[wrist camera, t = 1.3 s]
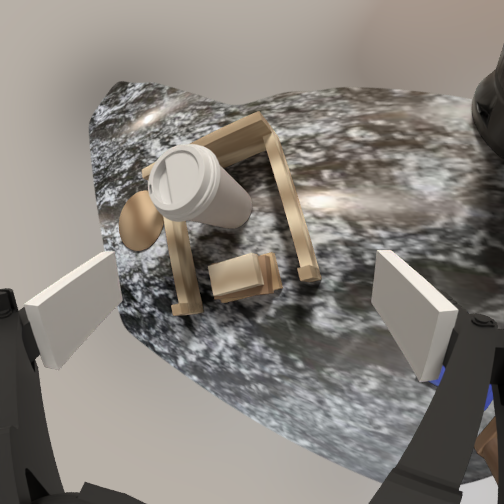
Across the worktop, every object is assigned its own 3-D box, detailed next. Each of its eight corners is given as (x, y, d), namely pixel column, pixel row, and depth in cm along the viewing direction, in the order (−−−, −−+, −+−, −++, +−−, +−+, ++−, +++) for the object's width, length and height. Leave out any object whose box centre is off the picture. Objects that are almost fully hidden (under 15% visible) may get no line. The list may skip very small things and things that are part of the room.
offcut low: (221, 270, 49) (214, 269, 47) (275, 253, 46) (271, 252, 44) (227, 302, 48) (221, 302, 46) (284, 288, 45) (279, 288, 43)
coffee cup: (209, 179, 51) (150, 143, 37) (265, 177, 47) (217, 133, 33) (201, 237, 50) (136, 217, 36) (258, 240, 46) (204, 218, 32)
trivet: (142, 180, 57) (140, 180, 56) (175, 212, 53) (173, 211, 52) (112, 228, 58) (111, 227, 58) (141, 263, 54) (139, 263, 54)
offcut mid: (218, 264, 47) (211, 263, 45) (269, 256, 44) (264, 255, 42) (221, 299, 46) (214, 299, 44) (273, 293, 43) (268, 293, 41)
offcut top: (215, 267, 45) (207, 266, 43) (257, 254, 42) (251, 252, 41) (220, 295, 44) (213, 295, 42) (264, 284, 41) (258, 283, 40)
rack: (171, 184, 54) (142, 169, 46) (278, 136, 47) (259, 110, 40) (196, 314, 49) (164, 316, 41) (321, 279, 42) (308, 276, 35)
